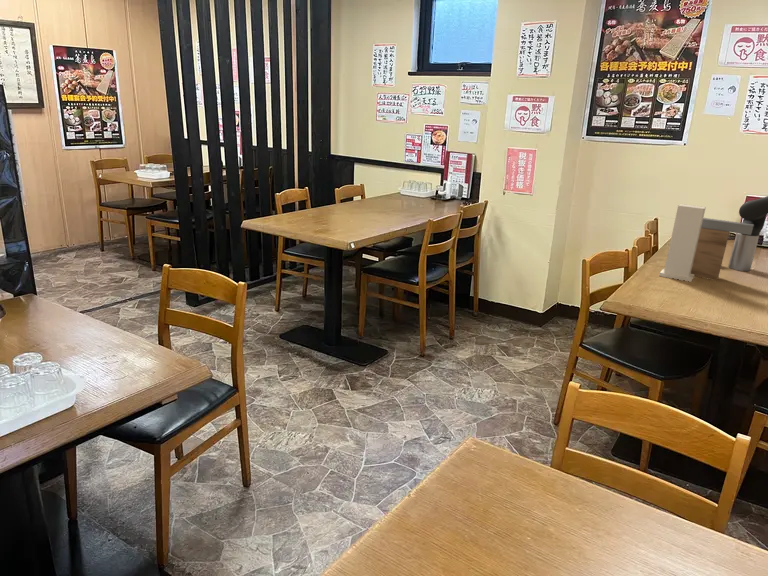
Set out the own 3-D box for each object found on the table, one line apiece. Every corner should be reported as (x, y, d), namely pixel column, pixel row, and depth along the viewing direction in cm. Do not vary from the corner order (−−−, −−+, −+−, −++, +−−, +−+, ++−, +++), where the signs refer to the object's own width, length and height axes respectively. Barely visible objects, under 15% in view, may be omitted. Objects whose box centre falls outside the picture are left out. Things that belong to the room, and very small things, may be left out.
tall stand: (662, 271, 261) (677, 203, 251) (693, 277, 254) (710, 207, 244) (659, 275, 254) (673, 205, 244) (690, 282, 247) (707, 209, 237)
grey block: (690, 224, 257) (692, 216, 256) (751, 233, 244) (753, 224, 243) (688, 226, 254) (690, 217, 253) (750, 234, 241) (753, 225, 240)
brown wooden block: (674, 269, 266) (684, 223, 259) (718, 277, 256) (730, 230, 249) (671, 272, 261) (682, 225, 254) (717, 280, 252) (728, 232, 245)
